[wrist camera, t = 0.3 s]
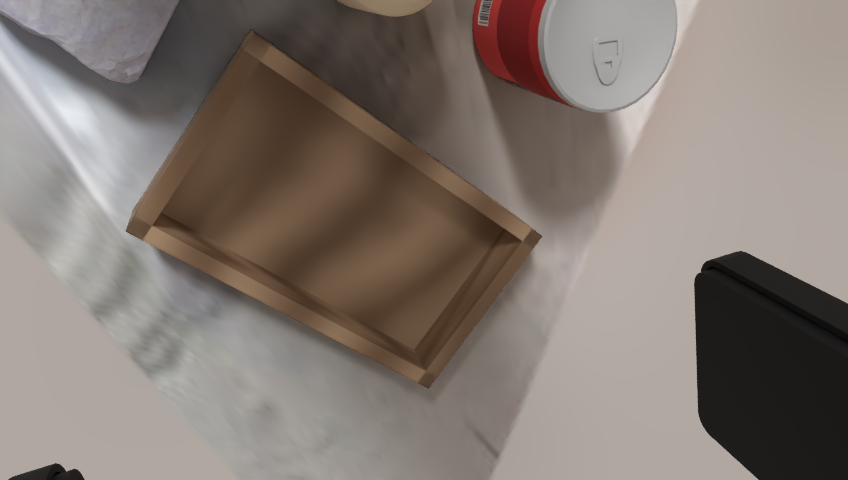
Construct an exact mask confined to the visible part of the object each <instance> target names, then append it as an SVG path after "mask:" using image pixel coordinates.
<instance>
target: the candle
mask: <svg viewBox="0 0 848 480" xmlns="http://www.w3.org/2000/svg"><path fill="white" fill-rule="evenodd" d="M337 1H338V2H340V3H342V4H343V5H346V6H348V7H351V8H354V9H358V10H362V11H367V12H371V13H376V14H380V15H385V16H392V17H400V16H406V15H410V14H413V13H416V12H418V11H420V10H421V9H423V8H425V7H426V6H427V5H429V4H430V3H431V2H432V1H433V0H337Z"/></svg>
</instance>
